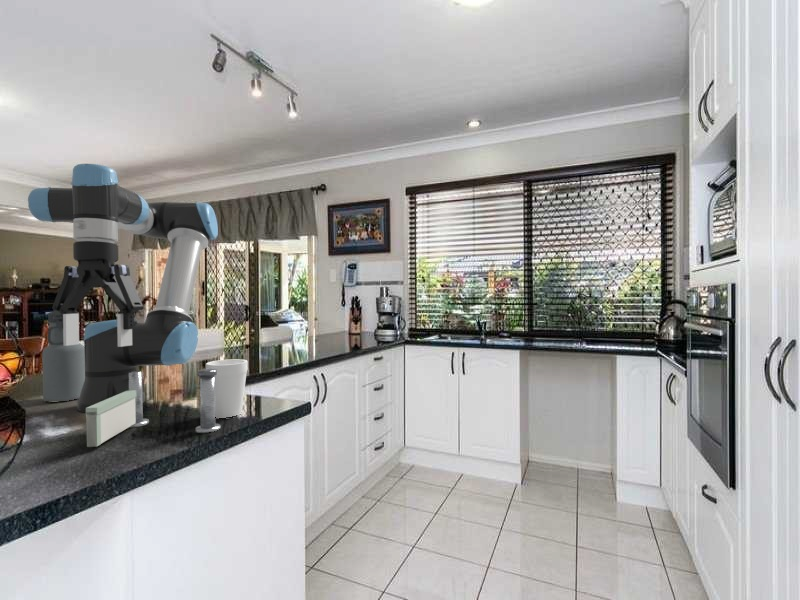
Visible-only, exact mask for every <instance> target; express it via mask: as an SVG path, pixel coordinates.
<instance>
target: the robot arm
mask: <svg viewBox="0 0 800 600" xmlns="http://www.w3.org/2000/svg"><path fill="white" fill-rule="evenodd" d="M70 184H71V186H72V187H70V188H69V187H51V186H48V187H37V188H34V189H32V190H31V191H30V192H29V194H28V197H27V202H28V203H27V204H28V205H27V206H28V209H29V212H30V214H31V215H32V216H33V217H34V219H36V220H38V221H41V222H48V223H49V222H50V223H70V224H71V223H72V227H73V228H72V229H73V230H72V232H73V233H72V234H73V235H72V237H73V239H74V240H75V242H73V244H72V246H73V247H72V248H73V249H72V251H73V252H72V253H73V260H74V261H77V263H78V264H77V266H74V265H73V266H71V265H66V266H64V270H63V278H62V281H61V284H60V285H59V289H58V291H57V294H56V296H55V299H54V302H53V304H52V310H53V311H59V312H60V313H61V314H62V329H63V345H64V346H68V345H77V344H79V343H80V324H79V323H80V313H79V314H73V313H78V308H79V307H80V306H81V303H82V302H83V300H84V299H85V298H86V296H87V294H88V293H89V292H90V291H91V290H93V288H95V289H96V288H101V289H103V290H104V291H106V293H107V294H108V296H109V298H111V300H112V302H113V303H114V304H115V306H116V308H118V310H119V311H118V312H117V315H116V317H117V319H111V320H110V319H109V320H103V321H96V322H92V323H89V324H87V325H86V326H85V327H84V336H83V346H84V353H85V381H84V384H83V387H82V390H81V394H80V398H79V399H77V400H76V405H77V406H76V409H77V411H79V412H82V413H86V408H87V407H89V406H92V405H94V404H96V403H99V402H101V401H104V400H106V399H108V398H111V397H113V396H115V395H118V394H120V393H122V392H125V391H129V372H134V371H138V367H140V366H142V367H143V366H145V367H147V366H148V367H149V366H166V367H167V366H168V367H169V366H170V367H172V366H174V365H183V364H186V363H187V362H188V361H190V360H191V358H192V357H193V356H194V354H195V352H196V349H197V347H198V341H199V337H198V335H199V330H198V327H197V325H196V324H195V323H194V319H193V318H192V317H191V316H190V314H189V313H190V308H191V303H192V299H193V293H194V289H195V284H196V280H197V274H198V271H199V270H198V269H199V264H200V259H201V255H202V251H203V250H205V249H206V248H208V246H209V241H210V240H211V241H212V240H216V239H217V238H218V235H219V227H218V221H217V220H218V219H217V216H216V214H215V210H214V209H213V207H212V206H211V205H210V204H209V203H206V202H198V201H195V202H178V201H177V202H173V201H171V202H170V201H169V202H168V201H167V202H166V201H159V202H147V200H145V199H144V198H143V197H142V196H141V195H139V194H138V193H136V192H135V191H131V190H129V189H127V188H125V187H123V186H120V185H119V179H118V173H117V172H116V170H115V169H113V168H111V167H109V166H106V165H101V164H96V163H80V164H76V165H75V166H73V168H72V178H71V183H70ZM119 230H125V231H127V232H128V233H130V234H133V235H138V236H139V235H140V236H145V237H150V238H155V239H159V240H160V239H162V240H168V241H169V242H170V247H169V251H168V254H167V260H166V263H165V267H164V270H163V275H162V279H161V283H160V287H159V292H158V295H157V299H156V303H155V305H154V306H155V307H154V309H153V310H150V311H149V312H147V314H146V317H145V319H144V320H145V321H144V322H138V321H137V319H136V318H135V313H136V312H138V311H142V310H143V309H144V305H143V302H142V300H141V298H140V295H139V294H138V291H137V288H136V287H135V284H134V281H133V280H132V277H131V272H130V271H131V270H130V266H129V265H127V264H118V263H117V262H118V261H119V245H118V244H117V242H119ZM61 304H63V305H61ZM142 401H143V403H145V401H146V392H145V390H143V389H142Z"/></svg>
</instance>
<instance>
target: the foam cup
mask: <svg viewBox="0 0 800 600" xmlns="http://www.w3.org/2000/svg"><path fill="white" fill-rule="evenodd" d="M248 364H249V363H248V360H247V359H242V358H241V359H238V358H237V359H231V358H230V359H219V360H213V361H207V362H206V363H205V369H217V375H215V417H216V418H215V419H219V418H226V417H232V416H236V415H239V414H241V415H242V413H241V412H242V411H243V404H244V395H245V389H246V388H245V387H246V382H247V381H246V379H247V372H248V367H249V365H248ZM239 416H240V415H239ZM226 419H227V418H226Z"/></svg>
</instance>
